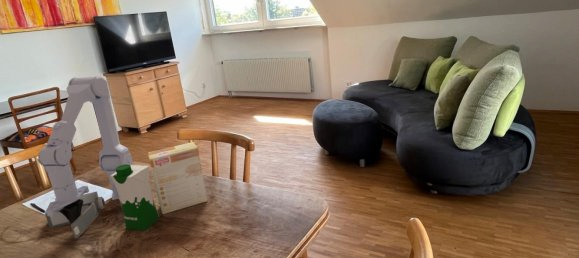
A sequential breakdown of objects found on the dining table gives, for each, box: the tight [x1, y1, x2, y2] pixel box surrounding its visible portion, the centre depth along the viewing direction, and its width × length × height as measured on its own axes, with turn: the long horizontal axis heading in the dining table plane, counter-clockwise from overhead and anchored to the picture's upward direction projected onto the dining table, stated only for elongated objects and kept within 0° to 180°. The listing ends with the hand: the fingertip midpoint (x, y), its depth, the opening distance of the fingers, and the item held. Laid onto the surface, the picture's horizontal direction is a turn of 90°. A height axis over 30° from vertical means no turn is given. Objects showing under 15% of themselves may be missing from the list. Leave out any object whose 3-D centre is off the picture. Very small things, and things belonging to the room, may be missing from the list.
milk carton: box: [110, 164, 160, 232], centre depth 110 cm, size 9×9×20 cm
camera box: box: [44, 191, 106, 230], centre depth 120 cm, size 16×8×6 cm, turn 112°
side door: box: [70, 202, 98, 239], centre depth 113 cm, size 13×1×5 cm, turn 0°
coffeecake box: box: [147, 141, 209, 215], centre depth 120 cm, size 15×7×20 cm, turn 115°
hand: (76, 224), depth 112 cm, fingers closed
